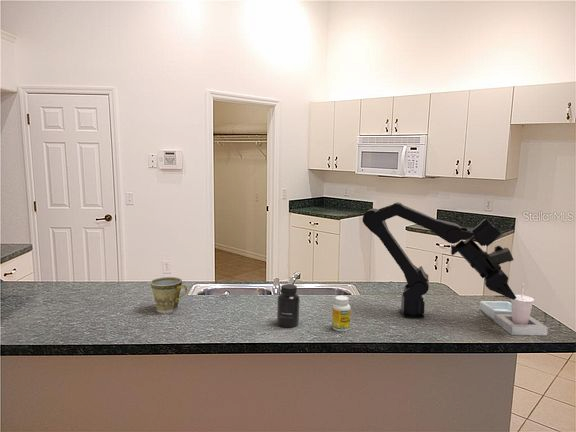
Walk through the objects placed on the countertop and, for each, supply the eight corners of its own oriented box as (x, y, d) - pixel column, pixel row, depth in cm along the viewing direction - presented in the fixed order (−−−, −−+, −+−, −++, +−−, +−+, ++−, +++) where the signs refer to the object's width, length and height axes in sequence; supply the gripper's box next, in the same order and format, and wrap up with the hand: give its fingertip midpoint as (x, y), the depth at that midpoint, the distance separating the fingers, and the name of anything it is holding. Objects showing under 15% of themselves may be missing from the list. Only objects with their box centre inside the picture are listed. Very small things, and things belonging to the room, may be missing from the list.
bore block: (511, 335, 121) (512, 327, 120) (493, 321, 131) (494, 313, 131) (546, 335, 121) (547, 327, 121) (526, 321, 131) (527, 314, 131)
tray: (493, 320, 132) (494, 311, 132) (479, 309, 142) (480, 301, 141) (523, 320, 132) (524, 311, 132) (507, 309, 142) (508, 301, 141)
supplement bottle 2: (342, 323, 128) (343, 293, 127) (353, 329, 123) (354, 298, 122) (328, 327, 125) (329, 296, 124) (340, 333, 120) (341, 301, 119)
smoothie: (530, 326, 128) (534, 282, 126) (532, 334, 122) (537, 288, 120) (506, 322, 130) (510, 279, 128) (508, 330, 124) (512, 285, 123)
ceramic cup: (144, 312, 134) (143, 283, 133) (164, 303, 144) (163, 275, 142) (177, 319, 130) (176, 288, 128) (195, 308, 139) (195, 280, 137)
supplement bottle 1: (283, 329, 122) (283, 290, 121) (273, 321, 128) (273, 284, 127) (303, 325, 126) (303, 287, 124) (292, 318, 132) (293, 281, 130)
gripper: (501, 244, 116) (543, 286, 114) (492, 234, 134) (527, 270, 132) (469, 269, 120) (509, 310, 118) (464, 255, 137) (498, 291, 135)
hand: (512, 294), depth 125 cm, fingers open, 9 cm apart
